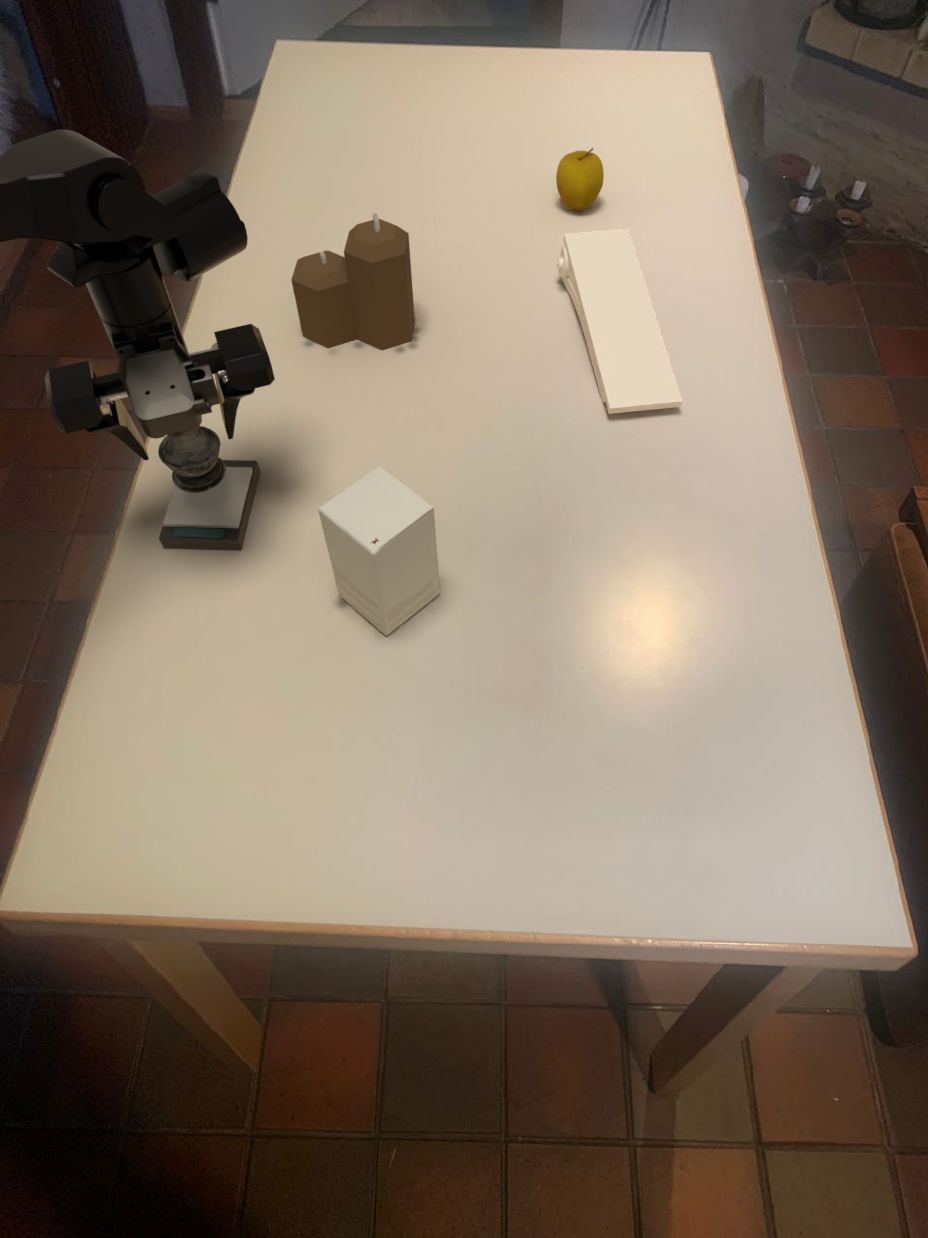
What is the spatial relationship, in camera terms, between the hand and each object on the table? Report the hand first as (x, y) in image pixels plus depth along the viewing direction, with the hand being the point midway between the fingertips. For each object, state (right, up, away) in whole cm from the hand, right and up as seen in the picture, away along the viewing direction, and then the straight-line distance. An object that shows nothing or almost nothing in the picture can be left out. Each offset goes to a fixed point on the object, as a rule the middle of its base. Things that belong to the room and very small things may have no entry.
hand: (188, 446), depth 81 cm
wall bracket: (+45, +18, +22) cm, 53 cm away
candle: (+14, +21, +25) cm, 35 cm away
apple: (+42, +42, +38) cm, 71 cm away
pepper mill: (0, -2, +3) cm, 4 cm away
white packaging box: (+19, -14, +1) cm, 24 cm away
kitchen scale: (0, -5, +8) cm, 9 cm away
